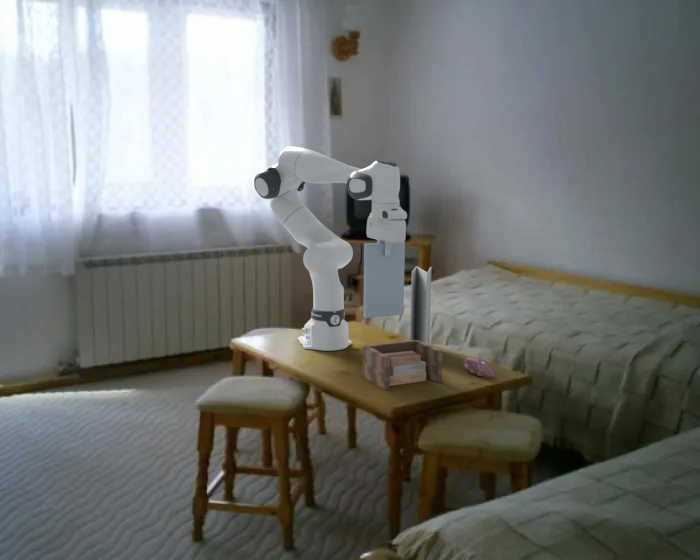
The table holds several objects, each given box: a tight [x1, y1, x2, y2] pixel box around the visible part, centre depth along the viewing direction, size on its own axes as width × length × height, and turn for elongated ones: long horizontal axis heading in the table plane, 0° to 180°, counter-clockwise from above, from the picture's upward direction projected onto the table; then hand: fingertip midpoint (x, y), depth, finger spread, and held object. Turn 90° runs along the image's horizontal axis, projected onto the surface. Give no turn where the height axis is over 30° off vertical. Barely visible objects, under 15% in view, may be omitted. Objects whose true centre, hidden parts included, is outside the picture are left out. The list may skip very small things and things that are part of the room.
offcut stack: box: [384, 351, 427, 387], centre depth 228 cm, size 7×13×8 cm, turn 116°
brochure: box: [409, 266, 432, 345], centre depth 260 cm, size 14×6×30 cm, turn 168°
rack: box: [361, 339, 444, 391], centre depth 229 cm, size 15×20×10 cm
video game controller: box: [462, 356, 495, 378], centre depth 235 cm, size 10×5×7 cm, turn 35°
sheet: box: [362, 241, 406, 319], centre depth 236 cm, size 2×14×24 cm, turn 116°
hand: (384, 254), depth 235 cm, fingers closed on sheet, 2 cm apart
